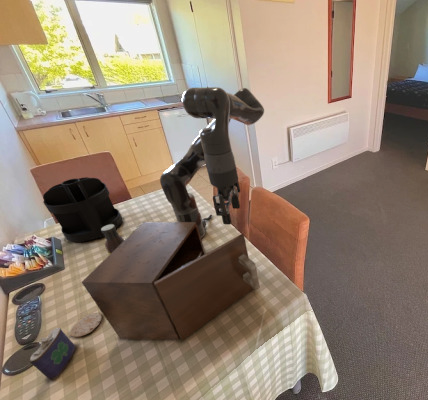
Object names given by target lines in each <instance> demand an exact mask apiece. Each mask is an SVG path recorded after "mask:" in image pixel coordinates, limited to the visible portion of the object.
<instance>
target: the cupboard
mask: <svg viewBox="0 0 428 400" xmlns="http://www.w3.org/2000/svg"><path fill="white" fill-rule="evenodd" d="M206 253H207V252H206V249H205V246H204V243H203V240H202V238H201V237H200V233H199V230H198V227H197V224H196V222H177V221H143V222H142V223H141V224H139V226H137V228H136V229H135V230H134V231H132V232H131V233H130V234H129V235H128V237H126V238H125V239H124V241H123V242H122V243H121V244H120V245H119V246H118V247H117V248H116V249H115V250H114V251H113V252H112V253H111V254H110V255H109V254H108V256H107V257H106V258H105V259H103V260H102V261H101V262H100V263H99V265H97V266H96V268H94V270H92V271H91V272H90V273H89V274H88V275H87V276H86V277H85V278H84V279H83V280H82V281H81V284H82V285H83V287H84V289H85V290H86V291H87V293H88V294H89V296H90V298H92V300H93V301H94V303H95V304H96V306H97V308H98V309H99V310H100V313H102V315H103V316H104V318H105V319H106V320H107V322H108V324H109V325H110V326H111V328H112V330H113V331H114V332H115V334H116V335H117V337H118V338H119V339H126V340H128V339H130V340H131V339H132V340H133V339H135V340H137V339H138V340H180V339H181V338H180V336H179V334H178V332H177V330H176V328H175V325H174V323H173V321H172V319H171V317H170V315H169V313H168V311H167V309H166V307H165V305H164V303H163V301H162V299H161V297H160V294H159V292H158V290H157V288H156V286H155V284H154V282H156V281H157V280H159V279H161V278H163V277H165V276H166V275H168V274H170V273H172V272H174V271H176V270H177V269H179V268H181V267H183V266H185V265H186V264H188V263H190V262H192V261H194V260H195V259H197V258H199V257H201V256H203V255H205V254H206Z"/></svg>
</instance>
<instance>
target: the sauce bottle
mask: <svg viewBox="0 0 428 400" xmlns="http://www.w3.org/2000/svg"><path fill="white" fill-rule="evenodd" d="M101 231H102V233H103V234H104V236H103V237H104V238H105V243H104V244H105V246H104V247H105V249H106V251H107V254H108V256H109V255H110V254H111V253H112V252H113V251H114V250H115V249H116V248H117V247H118V246H119V245H120V244H121V243H122V242H123V241H124V240H125V239H124V237H122V236H121V235H119V233H118V231H117V228H116V227H115V225H113V224H110V225H106V226H104V227H102V228H101Z"/></svg>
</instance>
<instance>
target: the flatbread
mask: <svg viewBox="0 0 428 400" xmlns="http://www.w3.org/2000/svg"><path fill="white" fill-rule="evenodd" d="M102 319H103V317H102V314H101V312H97V313H95V312H94V313H89V314H86V315H84V316H83V317H82V318H80V319H78V320H77V321H76V322H75V323H74V324H73V325H72V327H71V329H70V331H69V335H70V336H71V337H74V338H78V337H83V336H86V335H88V334H90V333H92V332H93V331H94V330H95V329H96V328H97V327H98V326H99V325H100V324H101V322H102Z"/></svg>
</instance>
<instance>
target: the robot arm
mask: <svg viewBox="0 0 428 400" xmlns="http://www.w3.org/2000/svg"><path fill="white" fill-rule="evenodd" d="M181 102H182V107H183V109H184V111H185V112H186V113H187V114H188V115H189V116H190V117H192V118H194V119H213V120H212V121H211V122H210V123H209V124H208V125H207V126H206V127H203V128H202V129H200V131H199V135H198V136H197V137H196V138H195V139H193V140H194V141H192V143H191V145H190V146H189V148H188V150H187V152H186V153H185V154H184V156H183V157H181V159H179V160H178V161H177V162H176V163H174V164H173V165H171V166H170V167H169V168H168V169H166V170H165V171H164V172H163V173H162V174H161V176H160V177H159V182H160V186H161V189H162V192H163V193H164V195H165V198H166V200H167V202H169V204H170V205H171V208H172V210H173V213H174V216H175V219H176V222H196V224H197V227H198V230H199V233H200V237H201V239H203V238H204V236H205V235H206V229H205V228H206V227H207V222H206V221H209V220H210V219H211V218H212V217H213V214H210V215H208V217H204V218H202V215H201V212H200V211H199V208H198V204H197V201H196V197H195V195H194V194H193V193H192V192H188V189H187V187H188V186H189V184H190V182H191V181H192V180H193V178H194V177H195V175H196V174H197V173H198V172H199V170H200V169H201V168H202V167H203V166H205V167H206V171H207V176H208V179H209V183H210V185H211V186H213V187H215V188H216V190H217V192H216V195H212V201H213V207H214V211H215V215H216V216H217V217H221V219H222V224H223V225H232V218H231V217H232V216H231V214H230V213H231V212H230V207H231V206H232V209H234V210H236V209H237V210H238V209H240V208H241V204H240V198H239V197H240V193H241V186H240V181H239V175H238V171H237V169H238V168H237V165H236V160H235V155H234V152H233V149H232V144H231V139H230V131H229V129H230V123H231V120H234V121H237V122H240V123H242V124H243V125H246V126H252V125H254V124H256V123H257V122H258V121H260V120H261V119H262V117H263V116H264V114H265V108H264V106H263V104H262V103H261V102H260V101H259V100H258V98H257V97H256V96H255V95H254V94H253V93H252V92H251V90H249V88H246V87H243V88H241V89H238V90H237V91H236V92H235V93H234V94H232V93H230V92H226V90H225V89H223V88H221V87H217V86H215V87H214V86H211V87H204V86H203V87H199V86H198V87H197V86H196V87H190V88H187V89H186V90H185V91H184V92H183V94H182V98H181Z"/></svg>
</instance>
